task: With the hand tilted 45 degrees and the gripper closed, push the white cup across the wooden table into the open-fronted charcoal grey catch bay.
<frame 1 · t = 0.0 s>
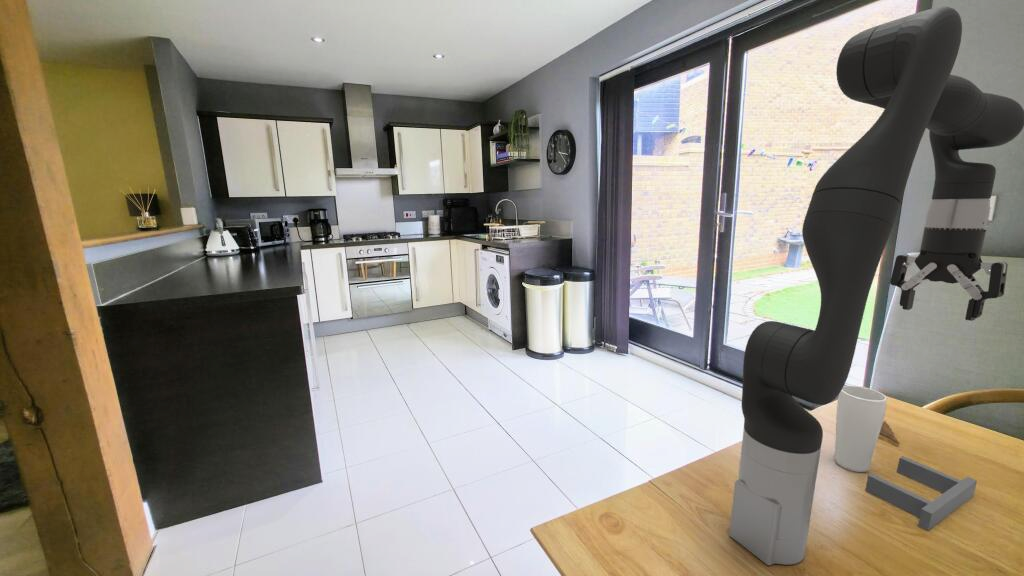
hand: (937, 314, 75), 29 cm above the table, tool pointing down, fingers open, 8 cm apart
catch bay: (915, 495, 70), on the table
white cup: (850, 465, 79), on the table
shard: (877, 432, 91), on the table
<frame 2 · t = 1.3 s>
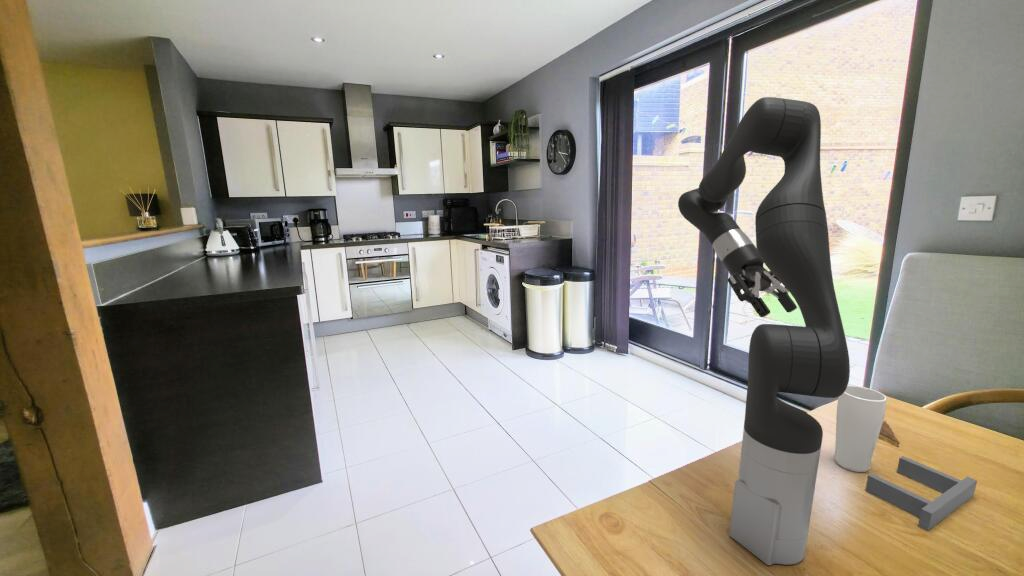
hand: (779, 312, 87), 27 cm above the table, tool tilted 45°, fingers open, 8 cm apart
nothing on the table moved.
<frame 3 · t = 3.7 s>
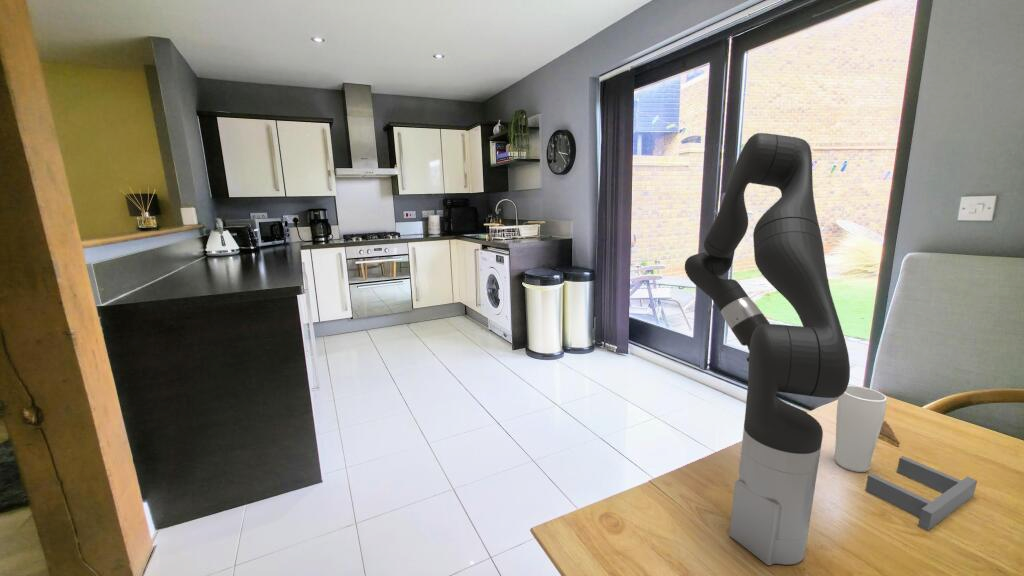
hand: (794, 390, 87), 11 cm above the table, tool tilted 45°, fingers closed
nothing on the table moved.
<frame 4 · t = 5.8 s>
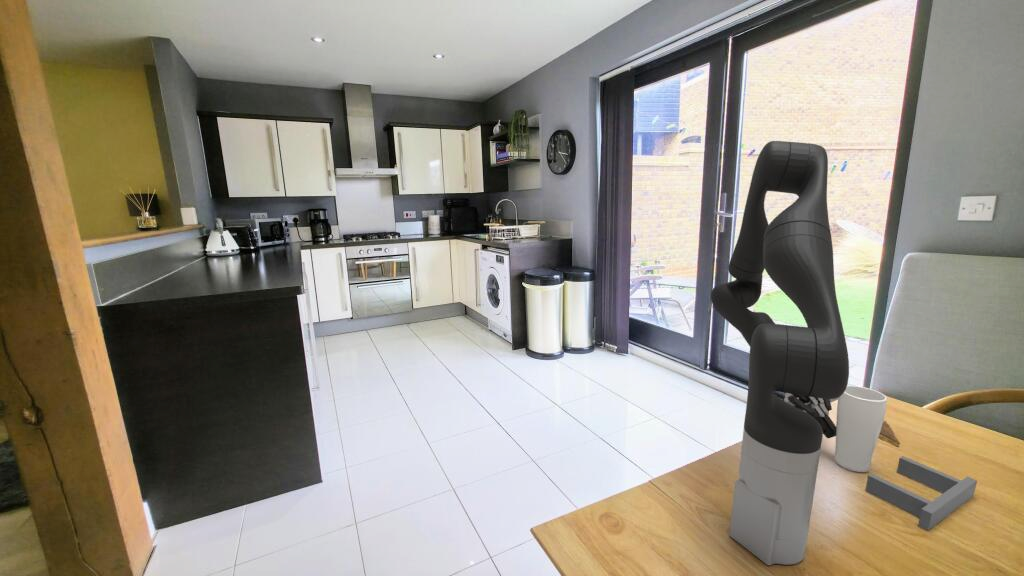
hand: (834, 436, 81), 4 cm above the table, tool tilted 45°, fingers closed
white cup: (851, 466, 79), on the table, touching gripper
everything else where it was.
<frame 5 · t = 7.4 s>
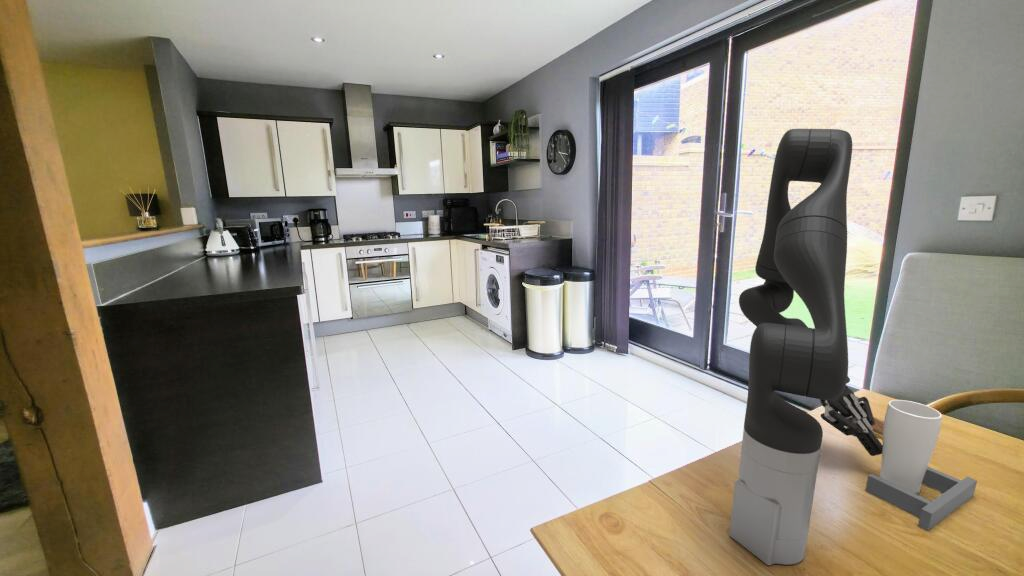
hand: (879, 453, 75), 4 cm above the table, tool tilted 45°, fingers closed
white cup: (898, 486, 73), on the table, touching gripper
everything else where it was.
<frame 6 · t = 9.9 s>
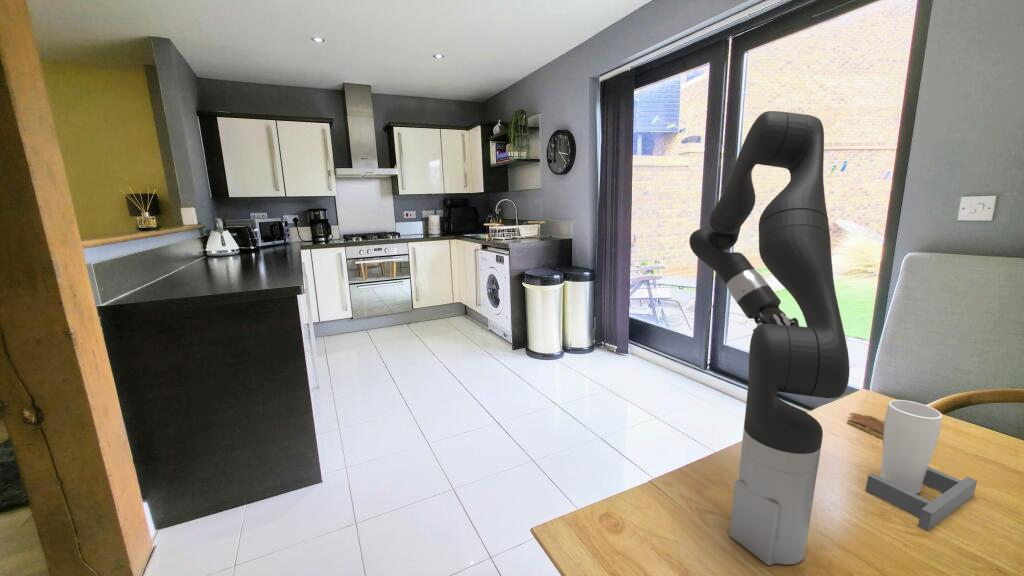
hand: (802, 361, 85), 17 cm above the table, tool tilted 45°, fingers closed
white cup: (899, 487, 73), on the table
everything else where it was.
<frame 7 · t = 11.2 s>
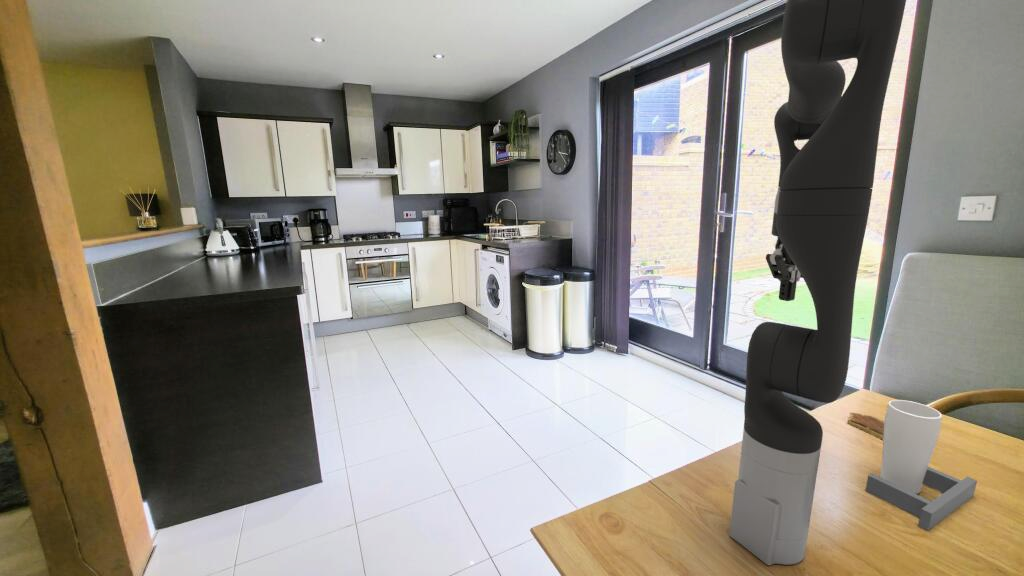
hand: (786, 299, 81), 31 cm above the table, tool pointing down, fingers closed
nothing on the table moved.
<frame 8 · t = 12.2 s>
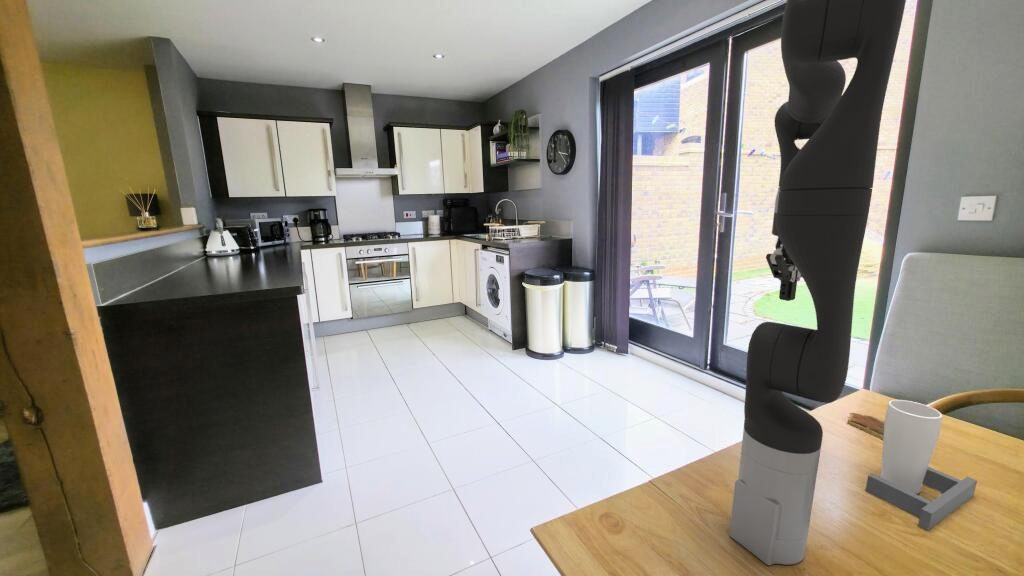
hand: (786, 299, 81), 31 cm above the table, tool pointing down, fingers closed
nothing on the table moved.
at the end: white cup inside the target area (2.5 cm from its centre), on the table; white cup tilted 0° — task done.
